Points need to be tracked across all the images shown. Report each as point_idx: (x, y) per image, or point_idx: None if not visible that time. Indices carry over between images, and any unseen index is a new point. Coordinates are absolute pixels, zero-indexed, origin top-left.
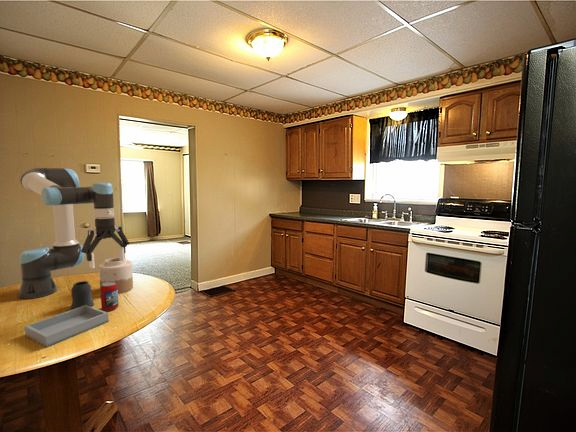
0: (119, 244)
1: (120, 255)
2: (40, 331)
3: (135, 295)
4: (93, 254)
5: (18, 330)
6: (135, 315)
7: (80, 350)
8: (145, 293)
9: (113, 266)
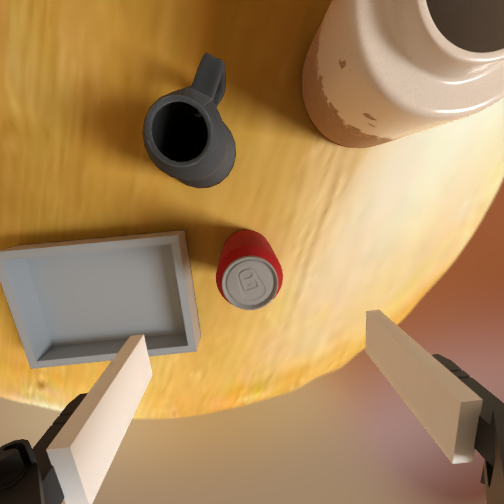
0: (496, 449)
1: (389, 352)
2: (23, 326)
3: (357, 212)
4: (93, 491)
5: (5, 185)
6: (263, 353)
7: None
8: (387, 224)
9: (404, 72)
